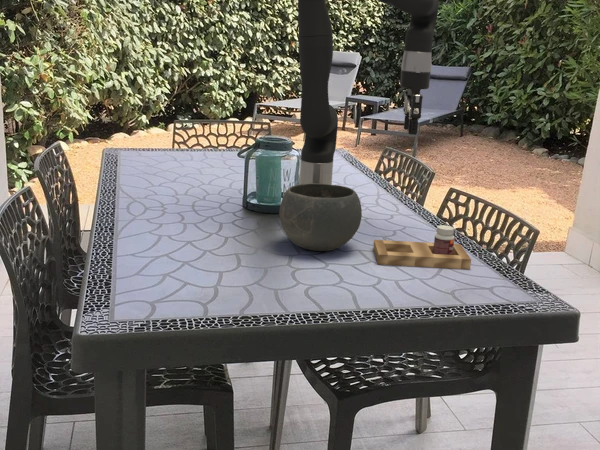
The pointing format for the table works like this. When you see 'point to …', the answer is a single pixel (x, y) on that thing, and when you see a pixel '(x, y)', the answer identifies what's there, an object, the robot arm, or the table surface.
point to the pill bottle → (444, 240)
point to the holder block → (419, 255)
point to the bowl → (320, 215)
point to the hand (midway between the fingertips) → (410, 131)
